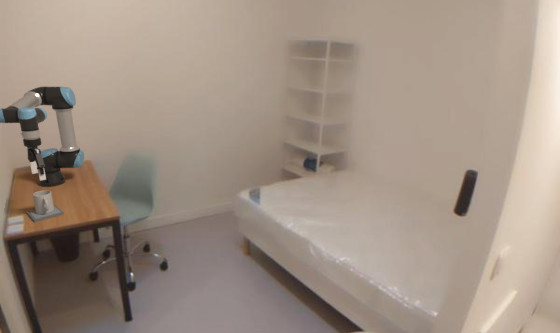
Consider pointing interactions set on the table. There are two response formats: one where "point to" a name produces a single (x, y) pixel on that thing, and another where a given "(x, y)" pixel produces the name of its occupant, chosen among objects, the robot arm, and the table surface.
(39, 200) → the mug
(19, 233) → the table surface
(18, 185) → the table surface
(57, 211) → the coaster
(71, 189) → the table surface
